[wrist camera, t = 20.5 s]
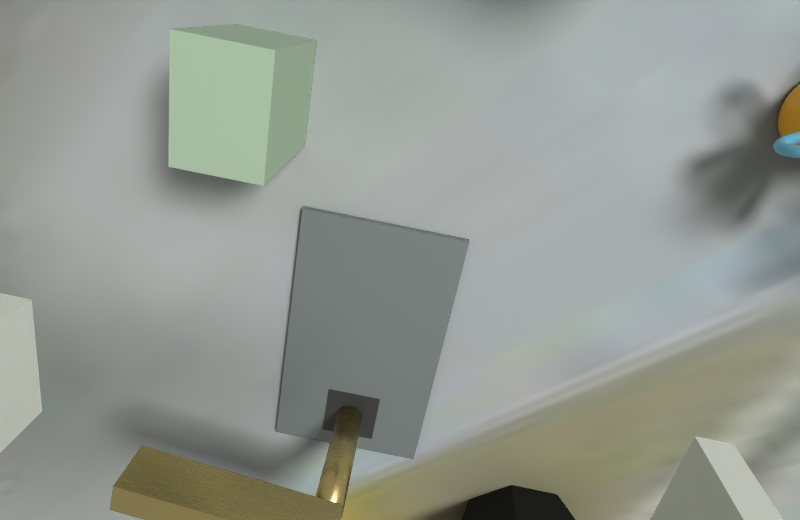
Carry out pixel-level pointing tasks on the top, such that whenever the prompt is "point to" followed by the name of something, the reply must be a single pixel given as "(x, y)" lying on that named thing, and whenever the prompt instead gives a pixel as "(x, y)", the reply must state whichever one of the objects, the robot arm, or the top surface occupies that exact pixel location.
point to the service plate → (366, 327)
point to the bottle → (517, 506)
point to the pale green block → (238, 100)
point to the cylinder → (789, 126)
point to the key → (233, 486)
